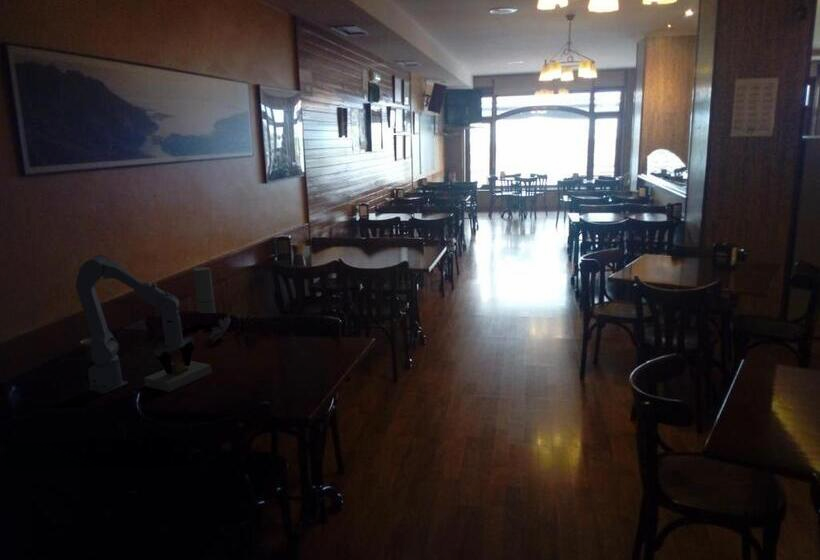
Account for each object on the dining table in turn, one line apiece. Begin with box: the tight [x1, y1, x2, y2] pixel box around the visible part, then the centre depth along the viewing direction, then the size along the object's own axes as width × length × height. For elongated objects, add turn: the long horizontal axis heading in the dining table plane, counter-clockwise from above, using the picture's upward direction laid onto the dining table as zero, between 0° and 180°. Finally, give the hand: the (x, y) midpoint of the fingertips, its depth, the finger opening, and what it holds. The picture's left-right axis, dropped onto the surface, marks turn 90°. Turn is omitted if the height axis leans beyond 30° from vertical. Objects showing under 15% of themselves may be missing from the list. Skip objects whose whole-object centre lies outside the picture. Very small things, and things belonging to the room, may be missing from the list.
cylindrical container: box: [192, 266, 217, 314], centre depth 273 cm, size 7×7×25 cm
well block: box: [143, 360, 213, 393], centre depth 212 cm, size 18×12×3 cm, turn 150°
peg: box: [171, 360, 186, 375], centre depth 212 cm, size 4×4×6 cm
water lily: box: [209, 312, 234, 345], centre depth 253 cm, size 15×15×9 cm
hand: (178, 369), depth 212 cm, fingers open, 7 cm apart
